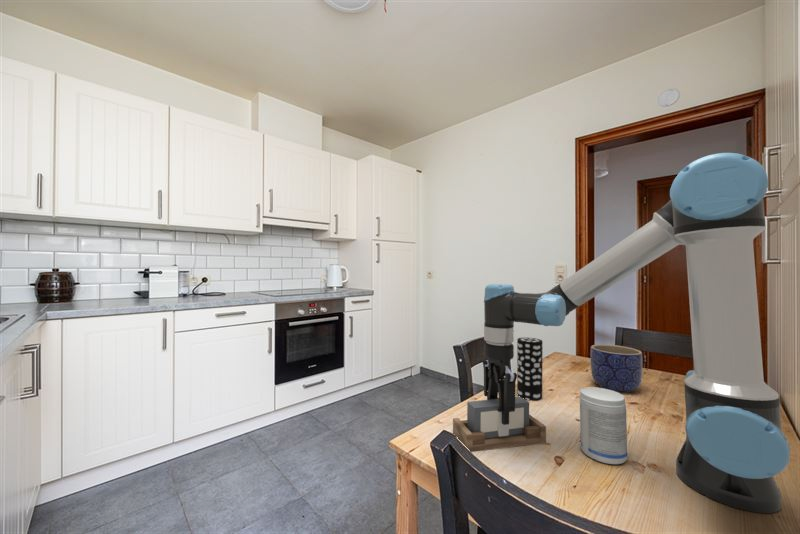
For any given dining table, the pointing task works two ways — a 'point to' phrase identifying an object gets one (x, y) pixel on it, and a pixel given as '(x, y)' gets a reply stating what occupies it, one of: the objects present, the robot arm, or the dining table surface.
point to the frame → (496, 417)
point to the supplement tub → (603, 425)
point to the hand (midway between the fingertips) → (498, 430)
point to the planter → (616, 367)
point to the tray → (478, 442)
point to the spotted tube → (529, 368)
